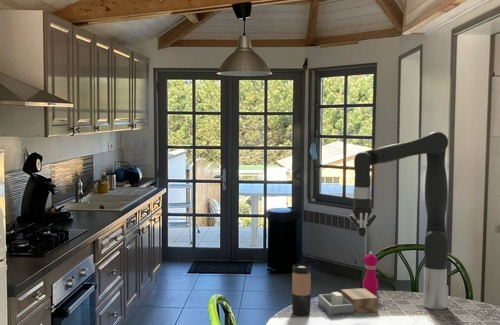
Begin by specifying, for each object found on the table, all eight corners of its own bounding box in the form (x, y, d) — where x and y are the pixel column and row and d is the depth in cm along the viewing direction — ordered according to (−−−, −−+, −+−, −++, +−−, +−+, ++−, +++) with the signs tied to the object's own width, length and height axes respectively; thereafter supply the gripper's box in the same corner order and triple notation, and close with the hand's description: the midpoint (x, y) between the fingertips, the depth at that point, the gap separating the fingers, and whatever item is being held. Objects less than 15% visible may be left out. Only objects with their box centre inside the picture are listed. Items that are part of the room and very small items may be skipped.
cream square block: (338, 291, 242) (331, 292, 241) (342, 295, 237) (336, 295, 236) (337, 303, 242) (331, 303, 242) (342, 306, 238) (336, 307, 237)
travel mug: (312, 311, 234) (312, 264, 233) (308, 317, 227) (308, 268, 226) (294, 309, 237) (294, 262, 236) (289, 315, 230) (290, 267, 228)
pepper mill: (378, 296, 255) (379, 253, 254) (362, 295, 256) (363, 252, 255) (378, 292, 262) (378, 249, 261) (362, 291, 263) (363, 249, 262)
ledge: (364, 301, 248) (364, 288, 248) (377, 311, 234) (377, 297, 234) (340, 302, 246) (341, 289, 245) (352, 313, 232) (352, 299, 232)
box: (340, 302, 247) (340, 293, 247) (353, 314, 231) (353, 304, 231) (318, 303, 245) (318, 294, 245) (330, 315, 229) (330, 306, 229)
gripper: (373, 195, 252) (372, 233, 253) (345, 196, 249) (344, 234, 250) (380, 197, 244) (379, 237, 245) (351, 198, 242) (350, 238, 243)
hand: (361, 235), depth 248 cm, fingers closed
